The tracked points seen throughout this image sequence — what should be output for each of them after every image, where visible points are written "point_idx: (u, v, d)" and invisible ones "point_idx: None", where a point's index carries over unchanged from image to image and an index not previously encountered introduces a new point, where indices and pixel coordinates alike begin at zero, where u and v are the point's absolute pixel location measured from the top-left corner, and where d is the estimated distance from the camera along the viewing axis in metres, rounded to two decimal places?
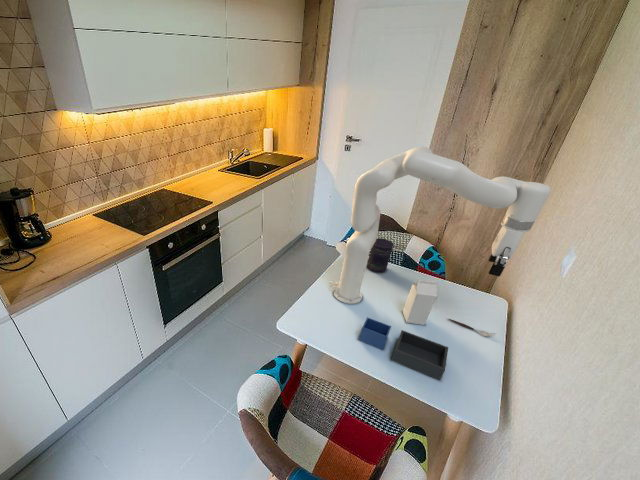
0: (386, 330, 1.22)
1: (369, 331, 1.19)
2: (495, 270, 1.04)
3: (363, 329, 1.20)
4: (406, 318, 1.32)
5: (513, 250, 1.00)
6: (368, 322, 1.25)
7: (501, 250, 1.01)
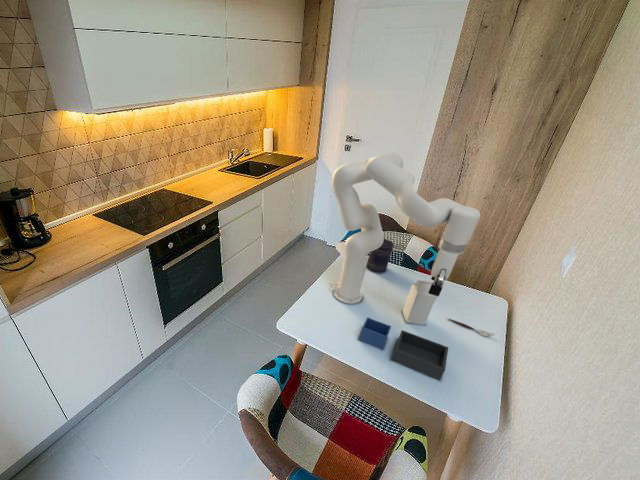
0: (386, 330, 1.22)
1: (369, 331, 1.19)
2: (434, 290, 1.07)
3: (363, 329, 1.20)
4: (406, 318, 1.32)
5: (449, 272, 1.02)
6: (368, 322, 1.25)
7: (438, 271, 1.04)
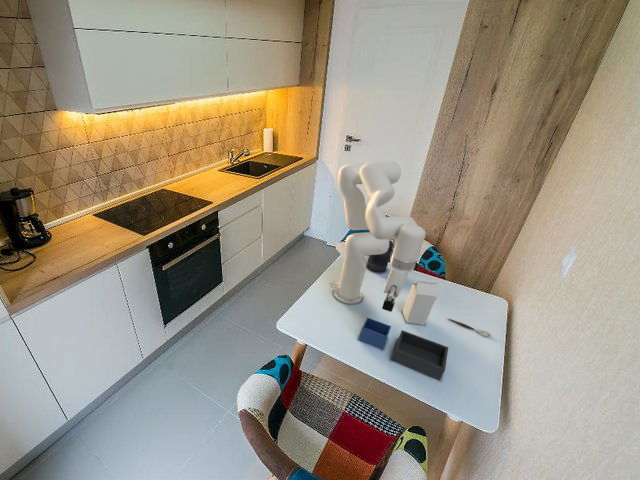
0: (386, 330, 1.22)
1: (369, 331, 1.19)
2: (386, 306, 1.09)
3: (363, 329, 1.20)
4: (406, 318, 1.32)
5: (399, 288, 1.04)
6: (368, 322, 1.25)
7: (389, 288, 1.06)
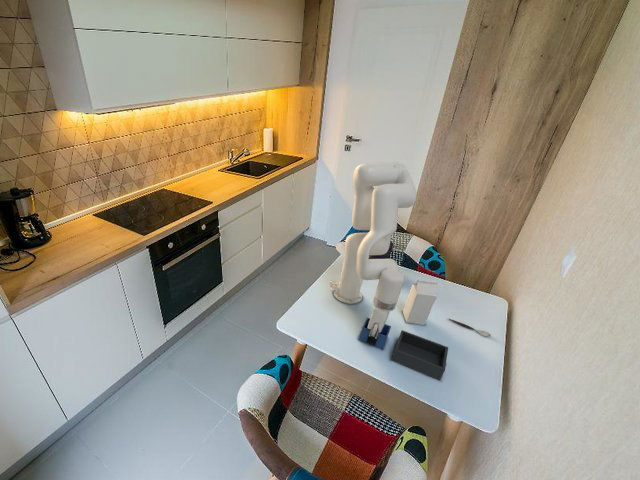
0: (386, 330, 1.22)
1: (369, 331, 1.19)
2: (370, 340, 1.19)
3: (363, 329, 1.20)
4: (406, 318, 1.32)
5: (381, 326, 1.13)
6: (368, 322, 1.25)
7: (372, 325, 1.15)
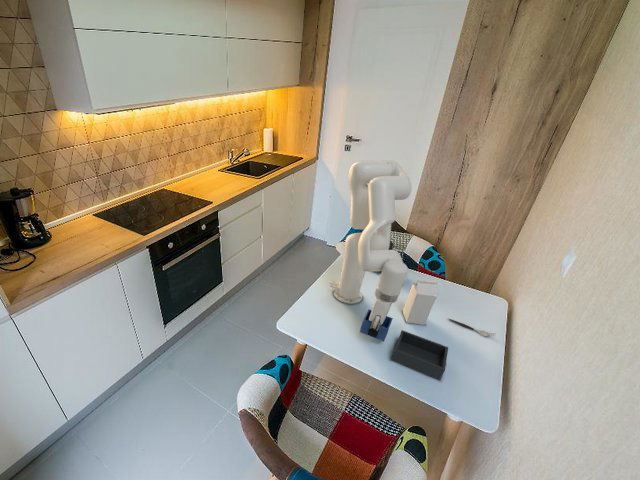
0: (387, 322, 1.21)
1: (370, 323, 1.17)
2: (371, 332, 1.18)
3: (364, 321, 1.18)
4: (406, 318, 1.32)
5: (382, 318, 1.12)
6: (369, 314, 1.23)
7: (374, 317, 1.13)
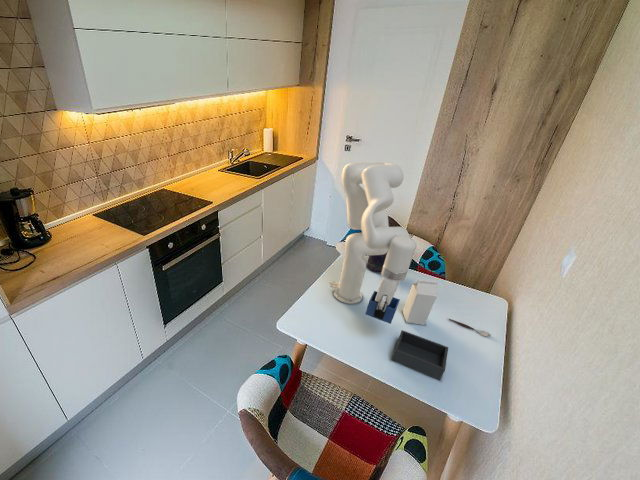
0: (394, 304, 1.16)
1: (377, 304, 1.12)
2: (377, 314, 1.12)
3: (370, 302, 1.13)
4: (406, 318, 1.32)
5: (389, 297, 1.07)
6: (375, 296, 1.18)
7: (380, 297, 1.08)
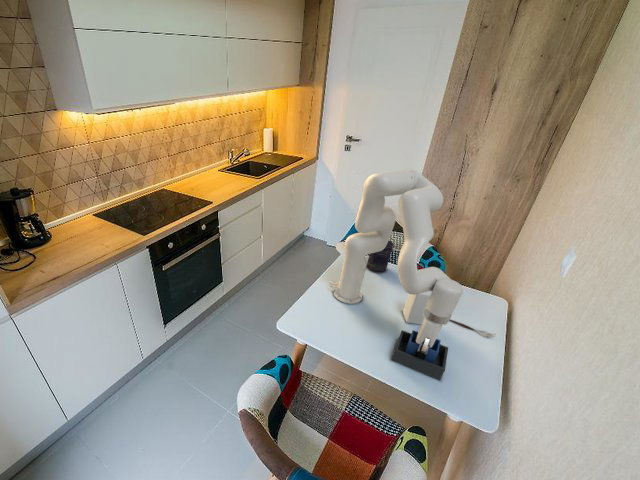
0: (434, 344, 1.12)
1: (417, 346, 1.09)
2: (418, 356, 1.09)
3: (410, 343, 1.10)
4: (406, 318, 1.32)
5: (433, 341, 1.04)
6: (414, 335, 1.15)
7: (422, 339, 1.05)
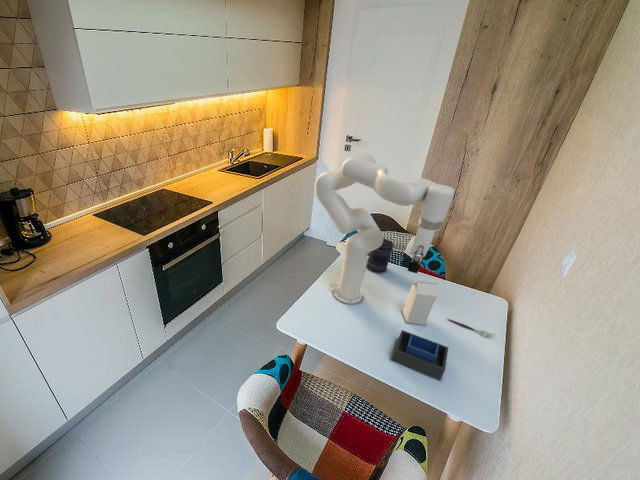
0: (433, 348, 1.13)
1: (416, 349, 1.10)
2: (412, 267, 1.11)
3: (409, 347, 1.11)
4: (406, 318, 1.32)
5: (426, 248, 1.06)
6: (412, 339, 1.16)
7: (416, 248, 1.08)
